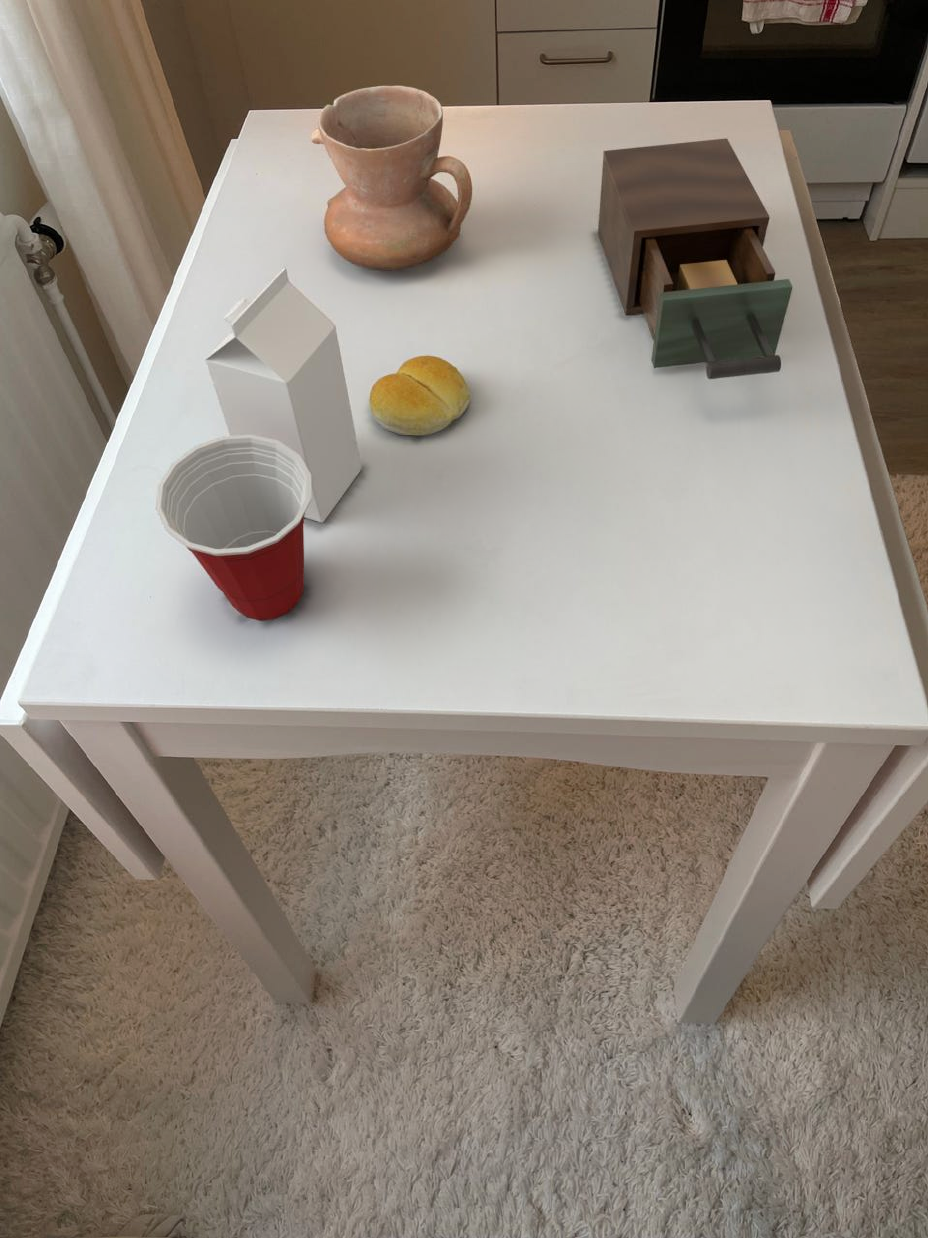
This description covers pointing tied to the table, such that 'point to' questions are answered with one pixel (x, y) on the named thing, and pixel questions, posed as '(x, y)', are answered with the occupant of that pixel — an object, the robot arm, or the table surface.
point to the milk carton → (289, 386)
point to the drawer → (713, 304)
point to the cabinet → (670, 201)
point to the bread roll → (420, 397)
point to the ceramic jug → (390, 178)
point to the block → (705, 275)
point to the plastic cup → (242, 519)
